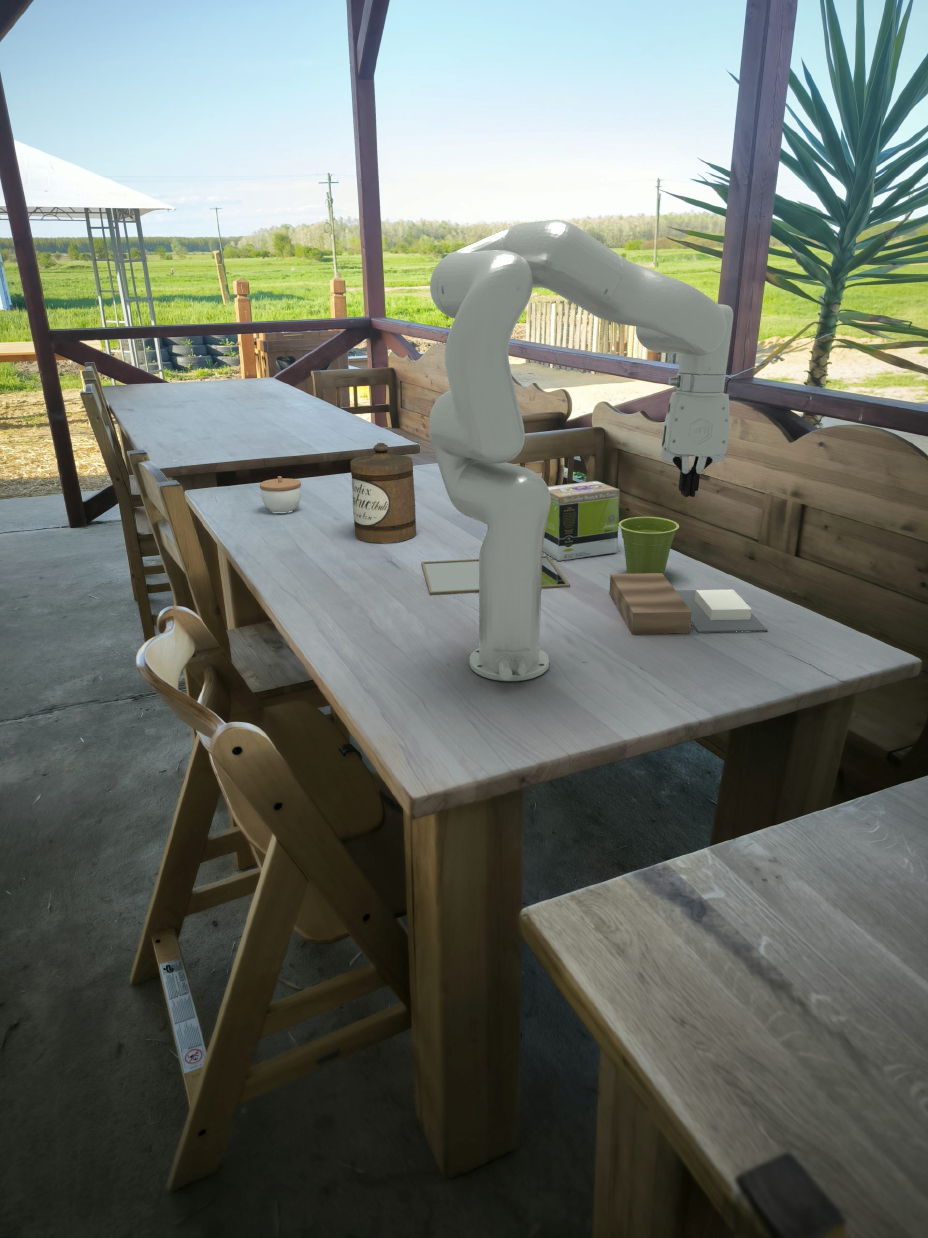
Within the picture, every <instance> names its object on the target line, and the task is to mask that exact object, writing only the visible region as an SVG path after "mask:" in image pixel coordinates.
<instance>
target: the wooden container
mask: <svg viewBox="0 0 928 1238" xmlns="http://www.w3.org/2000/svg"><path fill="white" fill-rule="evenodd" d="M372 448H373V452H374V453H373V455H372V454H371V455H364V456H359V457H355V458H352V459H351V460H350V474H351V486H352V487H351V488H352V489H351V490H352V510H353V511H352V513H353V524H354V525H353V526H354V536H355V538H356V539H357V540H359V541H362V542H367V543H371V544H393V543H398V542H399V543H400V542H405V541H407V540H410V539H412V538H414V537H415V536H416V534H417V521H416V520H417V519H416V495H415V482H414V479H415V478H414V463H413V462H414V461H413V458H411V456H408V455H402V454H390V453H389V446H388V445H387V444H386V443H384V442H377V443H376V444H375V445H374V446H373V447H372Z"/></svg>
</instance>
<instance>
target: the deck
mask: <svg viewBox="0 0 928 1238" xmlns="http://www.w3.org/2000/svg"><path fill="white" fill-rule="evenodd" d="M675 590H676V589H675V588H674V586H672V583H670V581H669V580H668V579H667V578H666V576H665V574H664V575H663V574H662V573H643V574H627V573H610V577H609V592H608V595H609V596H610V598H611V599H612V601H613V603H614V605H615V606H616V609H617V610H618V612H619V614H620V615H621V618H622V620H623V621H624V623H625V625H626V626H627V628H628V629H629V632H630V633H631V635H667V633H668V634H669V633H670V634H671V633H680V634H690V632H691V625H692V624H691V615H692V611H691V610H690V609H689V607H688V606H687V605H686V603H685V602H684V601H683V600H682V598H681V597H680V596H679V594H678V593H677V592H676V591H675ZM660 633H661V634H660ZM662 633H663V634H662ZM670 634H669V635H670ZM671 635H672V634H671Z"/></svg>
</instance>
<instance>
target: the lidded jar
mask: <svg viewBox="0 0 928 1238" xmlns="http://www.w3.org/2000/svg"><path fill="white" fill-rule="evenodd" d="M301 486H302V481H300V480H299V479H296V478H288V477H287V478H283V477H282V476H280V475H279V476H277V478H272V479H267V480H264V481H262V482H260V483H259V489H260V496H261V500H262V502H263V504H264V506H265V507H266V508H267V509H268V510H269V511H270V512H271V511H272V512H289V511H293V510H294V511H295V509H296V508H297V507H298V506H299V504H300V502H301V498H302V487H301ZM272 512H271V513H272Z"/></svg>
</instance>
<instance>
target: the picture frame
mask: <svg viewBox="0 0 928 1238" xmlns="http://www.w3.org/2000/svg"><path fill="white" fill-rule="evenodd" d="M420 565H421V568H422V571H423V572H422V573H423V574H424V578H425V582H426V586H427V590H428V592H429V596H444V595H458V594H461V595H463V594H477V593H478V594H479V558H469V559H468V558H466V559H449V560H447V559H445V560H432V561H431V560H430V561H428V560H427V561H421V563H420ZM561 588H564V589H565V588H571V584H570V583H569V581H568V580H567V578H566V577H565V576H564V574H562V572H561V571H560V570H559V569H558V566H557V565H556V564H555V562H554V561H553V560H552V559H551V556H549V555H548V554H546V555H542V581H541V590H547V589H561Z"/></svg>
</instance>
